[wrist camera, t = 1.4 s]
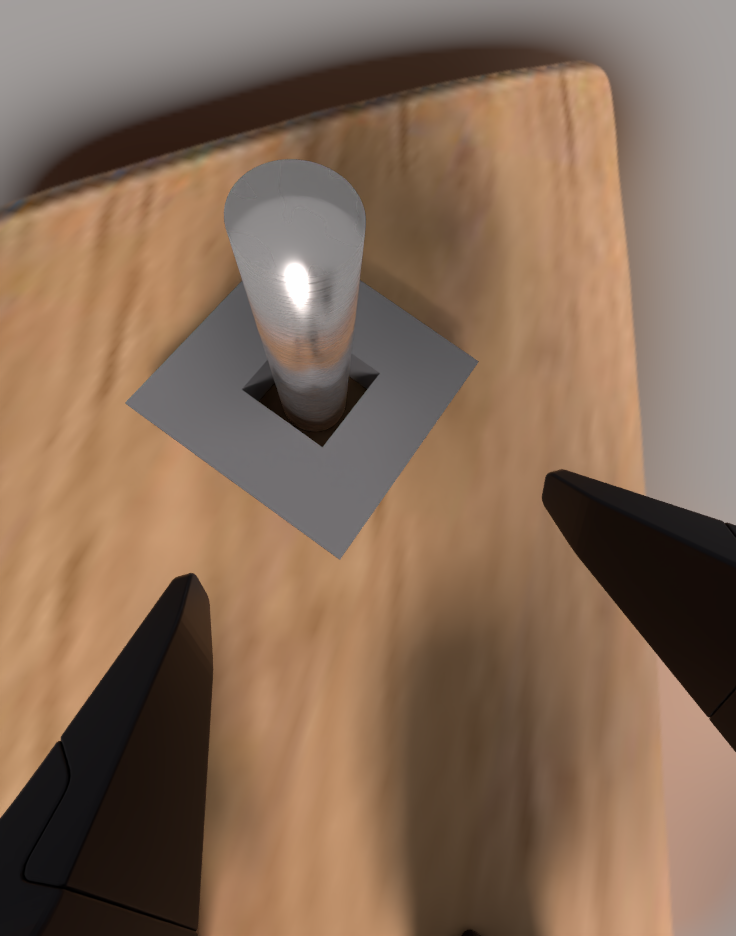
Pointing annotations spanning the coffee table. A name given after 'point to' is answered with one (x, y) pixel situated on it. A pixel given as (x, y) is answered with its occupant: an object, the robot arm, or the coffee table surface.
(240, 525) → the coffee table surface
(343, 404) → the steel peg
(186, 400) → the pocket block
